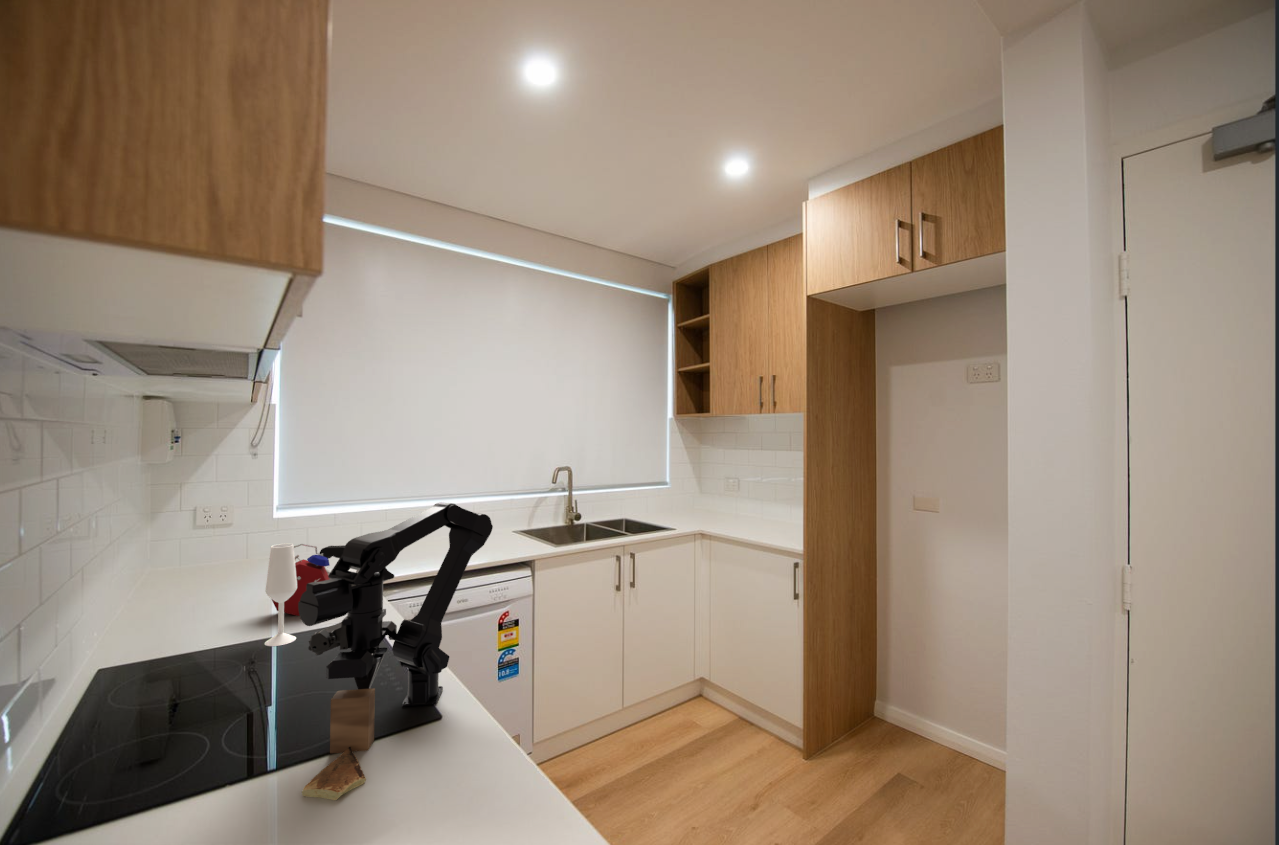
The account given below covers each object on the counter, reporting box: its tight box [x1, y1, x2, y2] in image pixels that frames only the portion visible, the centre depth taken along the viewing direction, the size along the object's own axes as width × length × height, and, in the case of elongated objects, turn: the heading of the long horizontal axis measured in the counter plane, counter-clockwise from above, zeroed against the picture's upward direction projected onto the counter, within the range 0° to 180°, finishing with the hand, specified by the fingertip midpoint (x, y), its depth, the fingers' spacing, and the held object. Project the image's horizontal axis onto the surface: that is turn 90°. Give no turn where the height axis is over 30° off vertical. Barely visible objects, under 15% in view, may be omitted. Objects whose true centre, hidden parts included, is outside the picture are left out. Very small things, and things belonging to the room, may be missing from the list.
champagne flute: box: [264, 543, 297, 647], centre depth 136 cm, size 7×7×24 cm
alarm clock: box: [271, 543, 331, 617], centre depth 155 cm, size 15×9×20 cm, turn 113°
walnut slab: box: [329, 687, 376, 754], centre depth 92 cm, size 3×6×9 cm, turn 99°
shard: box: [301, 747, 367, 801], centre depth 84 cm, size 11×8×2 cm
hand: (364, 695), depth 97 cm, fingers closed
